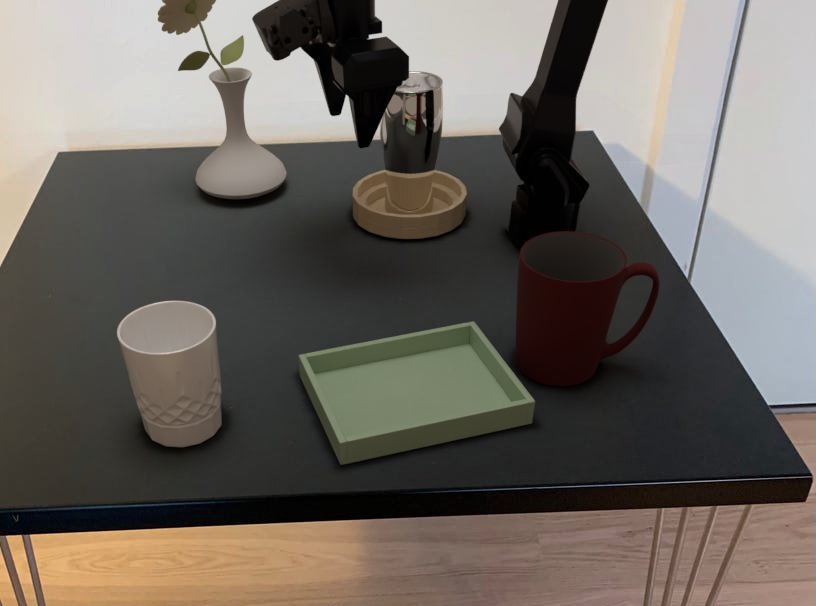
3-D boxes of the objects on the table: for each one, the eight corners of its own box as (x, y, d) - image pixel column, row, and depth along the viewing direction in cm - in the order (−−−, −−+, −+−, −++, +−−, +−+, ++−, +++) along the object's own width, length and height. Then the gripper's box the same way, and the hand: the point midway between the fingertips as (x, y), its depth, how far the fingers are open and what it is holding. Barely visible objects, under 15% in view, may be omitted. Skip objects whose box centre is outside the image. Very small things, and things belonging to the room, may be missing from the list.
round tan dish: (440, 184, 113) (441, 160, 111) (482, 230, 104) (484, 206, 102) (339, 200, 110) (338, 176, 108) (373, 249, 101) (373, 224, 99)
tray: (472, 342, 87) (474, 320, 85) (532, 423, 77) (535, 401, 76) (299, 376, 84) (298, 354, 82) (340, 465, 74) (339, 442, 73)
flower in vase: (268, 163, 119) (250, -52, 102) (301, 196, 112) (287, -30, 95) (173, 183, 116) (138, -37, 99) (200, 219, 108) (167, -13, 91)
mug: (634, 341, 86) (659, 234, 79) (644, 397, 80) (672, 286, 72) (507, 334, 88) (519, 229, 80) (507, 388, 81) (520, 279, 74)
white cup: (142, 400, 82) (121, 303, 75) (229, 393, 82) (216, 297, 75) (135, 456, 76) (112, 357, 69) (229, 449, 76) (215, 350, 69)
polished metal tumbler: (434, 228, 104) (440, 94, 94) (374, 224, 105) (374, 91, 95) (441, 201, 109) (448, 71, 99) (384, 197, 110) (385, 69, 100)
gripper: (232, -54, 86) (250, 112, 97) (283, -6, 73) (298, 180, 83) (343, -68, 88) (349, 96, 99) (412, -24, 75) (410, 160, 86)
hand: (349, 130), depth 92 cm, fingers open, 9 cm apart
